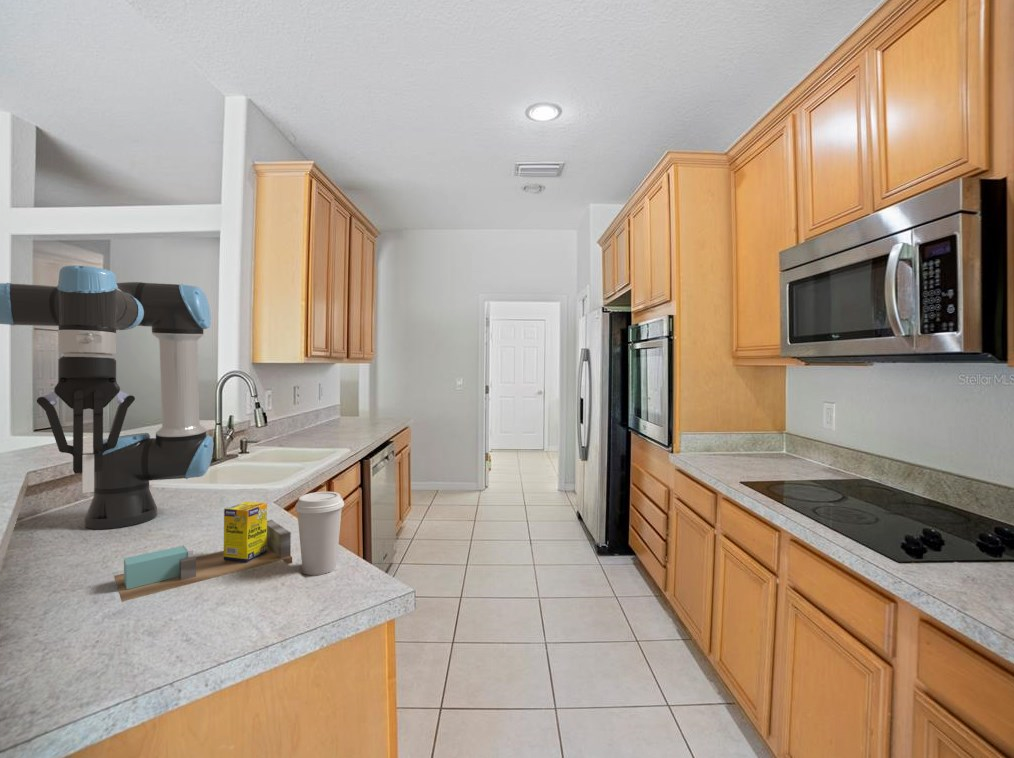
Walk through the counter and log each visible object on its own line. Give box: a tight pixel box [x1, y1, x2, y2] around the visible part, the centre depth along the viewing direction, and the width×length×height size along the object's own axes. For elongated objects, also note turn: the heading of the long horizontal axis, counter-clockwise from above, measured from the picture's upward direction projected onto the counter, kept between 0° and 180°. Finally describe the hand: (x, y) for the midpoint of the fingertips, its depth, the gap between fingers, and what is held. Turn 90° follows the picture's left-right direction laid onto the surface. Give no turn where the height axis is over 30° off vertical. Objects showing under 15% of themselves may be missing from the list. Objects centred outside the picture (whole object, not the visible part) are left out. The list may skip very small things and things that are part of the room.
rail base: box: [114, 519, 293, 602], centre depth 94 cm, size 14×28×6 cm, turn 134°
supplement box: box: [223, 501, 268, 562], centre depth 99 cm, size 6×6×11 cm
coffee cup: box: [294, 491, 345, 576], centre depth 96 cm, size 10×10×15 cm
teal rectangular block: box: [123, 543, 194, 589], centre depth 88 cm, size 5×10×5 cm, turn 134°
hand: (88, 490), depth 81 cm, fingers closed
